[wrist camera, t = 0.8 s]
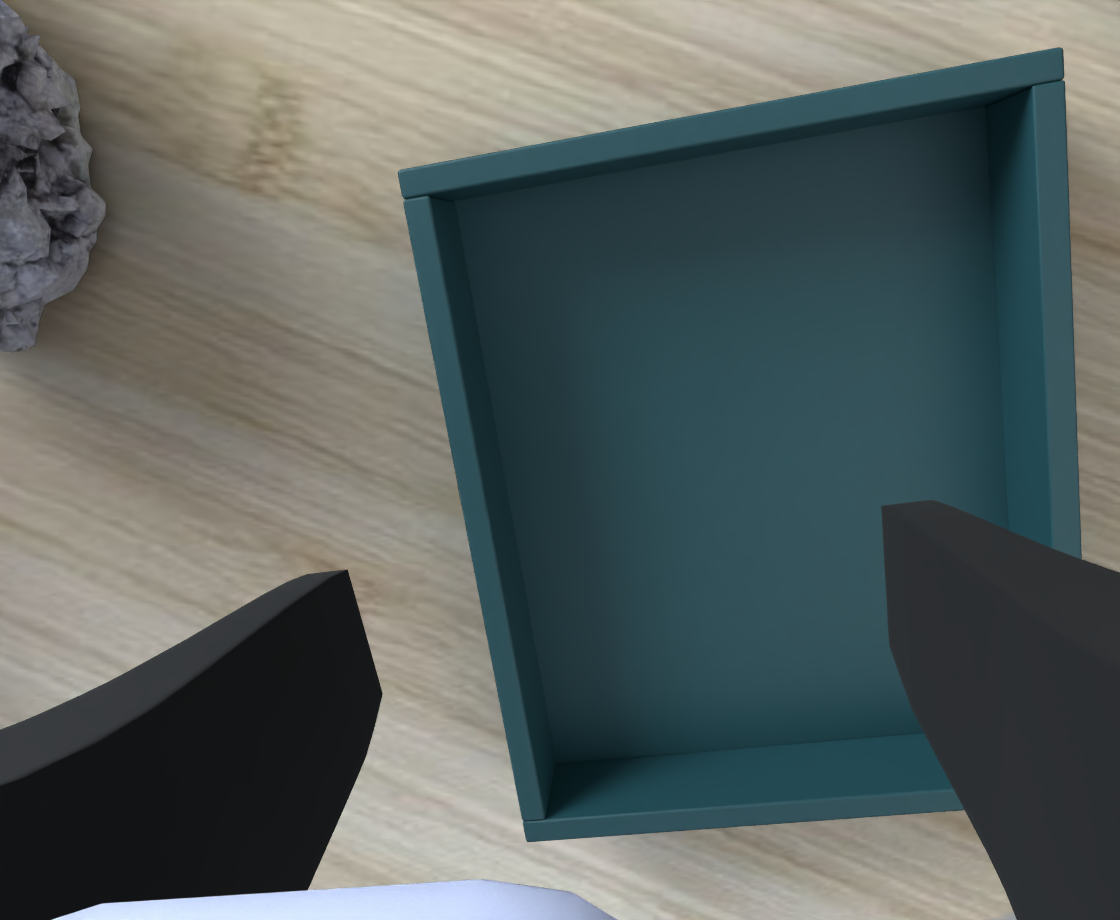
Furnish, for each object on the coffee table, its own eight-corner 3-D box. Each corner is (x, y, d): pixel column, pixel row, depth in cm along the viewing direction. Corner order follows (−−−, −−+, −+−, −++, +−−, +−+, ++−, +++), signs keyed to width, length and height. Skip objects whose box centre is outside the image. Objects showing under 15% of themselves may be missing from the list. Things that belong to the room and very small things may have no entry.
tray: (1036, 732, 23) (1091, 802, 20) (541, 773, 25) (526, 843, 22) (1004, 76, 19) (1064, 45, 17) (431, 180, 21) (396, 170, 18)
